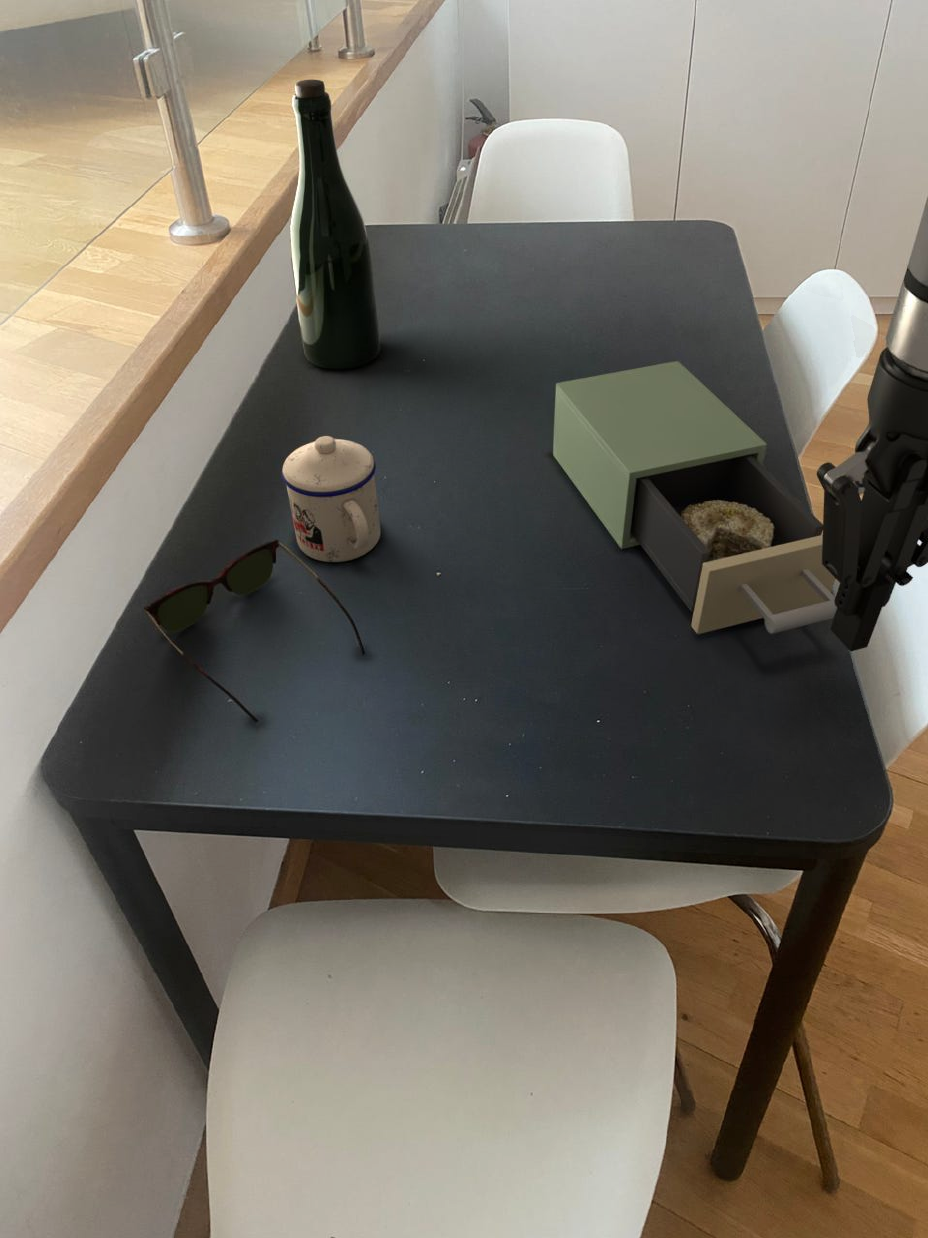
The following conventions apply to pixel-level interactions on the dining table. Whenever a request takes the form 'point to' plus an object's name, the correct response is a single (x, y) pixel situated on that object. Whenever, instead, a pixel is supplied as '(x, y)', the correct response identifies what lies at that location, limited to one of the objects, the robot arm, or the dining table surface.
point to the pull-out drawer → (742, 584)
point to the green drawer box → (640, 435)
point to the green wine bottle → (329, 245)
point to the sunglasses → (238, 578)
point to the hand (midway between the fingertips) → (848, 637)
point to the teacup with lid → (333, 499)
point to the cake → (728, 528)
